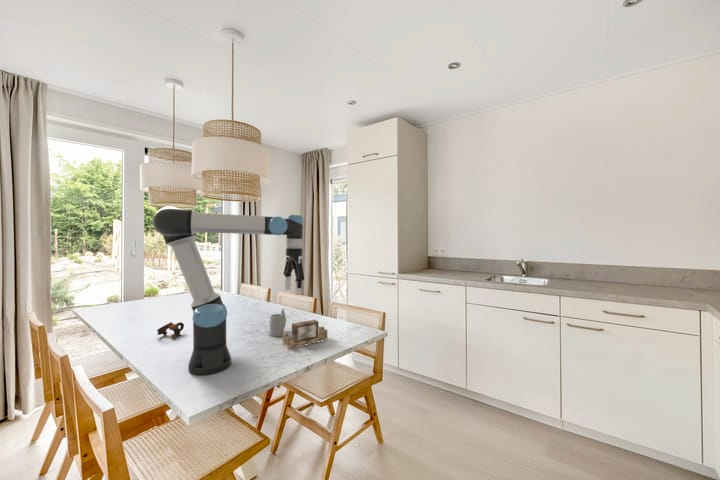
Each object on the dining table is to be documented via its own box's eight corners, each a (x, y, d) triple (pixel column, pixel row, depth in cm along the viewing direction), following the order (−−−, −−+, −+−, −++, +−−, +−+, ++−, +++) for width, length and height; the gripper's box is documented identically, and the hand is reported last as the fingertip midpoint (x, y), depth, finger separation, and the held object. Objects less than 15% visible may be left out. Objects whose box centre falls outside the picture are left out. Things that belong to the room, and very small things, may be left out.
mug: (265, 336, 157) (265, 312, 157) (279, 329, 168) (279, 307, 168) (278, 337, 154) (278, 313, 154) (291, 330, 166) (291, 308, 165)
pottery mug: (168, 342, 149) (159, 327, 149) (160, 347, 154) (151, 333, 154) (190, 329, 159) (182, 315, 159) (182, 334, 164) (174, 321, 164)
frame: (295, 343, 143) (295, 325, 143) (291, 340, 146) (291, 323, 146) (318, 338, 150) (318, 321, 150) (314, 335, 153) (314, 319, 153)
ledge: (288, 349, 140) (288, 336, 139) (282, 344, 145) (282, 332, 145) (327, 340, 151) (327, 328, 151) (320, 336, 157) (320, 325, 156)
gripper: (312, 249, 138) (311, 296, 138) (292, 246, 159) (290, 287, 159) (296, 249, 134) (295, 298, 134) (277, 246, 154) (276, 288, 155)
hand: (292, 292), depth 146 cm, fingers open, 13 cm apart
